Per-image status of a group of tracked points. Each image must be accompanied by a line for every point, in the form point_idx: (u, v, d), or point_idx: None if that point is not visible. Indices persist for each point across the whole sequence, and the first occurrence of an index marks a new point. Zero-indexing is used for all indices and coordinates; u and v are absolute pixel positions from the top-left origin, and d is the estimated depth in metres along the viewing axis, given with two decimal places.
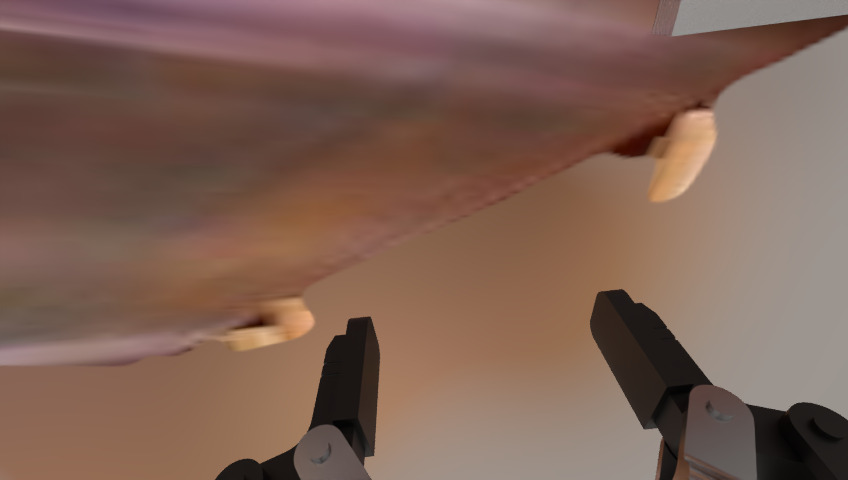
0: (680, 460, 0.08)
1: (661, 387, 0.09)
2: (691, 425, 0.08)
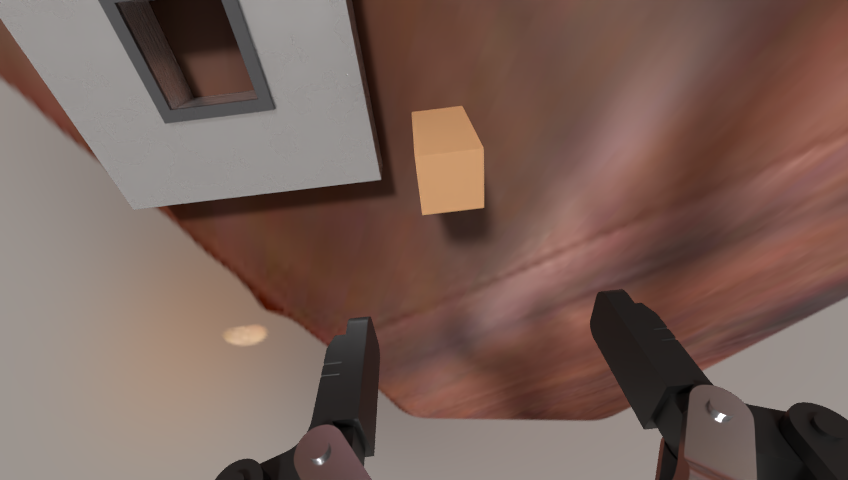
0: (680, 460, 0.08)
1: (661, 387, 0.09)
2: (691, 425, 0.08)
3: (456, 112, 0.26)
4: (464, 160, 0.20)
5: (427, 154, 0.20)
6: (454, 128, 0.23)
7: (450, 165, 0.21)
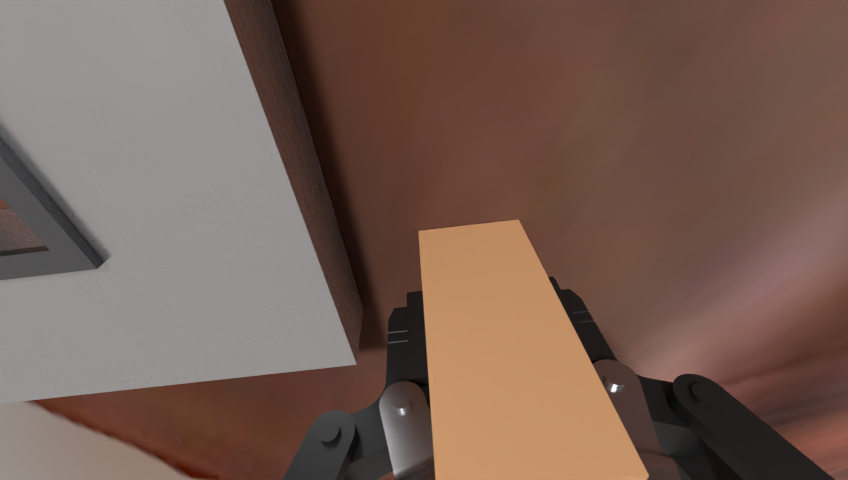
0: None
1: None
2: None
3: (511, 245, 0.13)
4: None
5: None
6: (522, 317, 0.10)
7: None
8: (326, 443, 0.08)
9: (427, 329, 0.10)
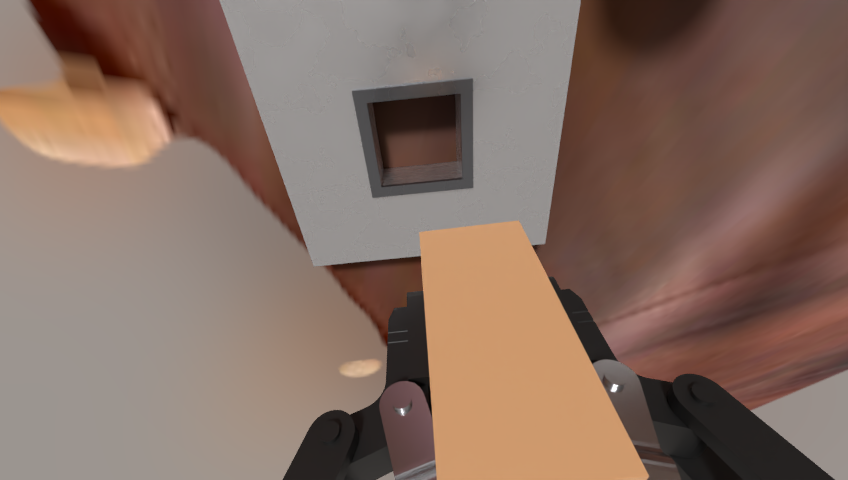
0: None
1: None
2: None
3: (512, 246, 0.13)
4: None
5: None
6: (523, 318, 0.10)
7: None
8: (326, 443, 0.08)
9: (428, 330, 0.10)
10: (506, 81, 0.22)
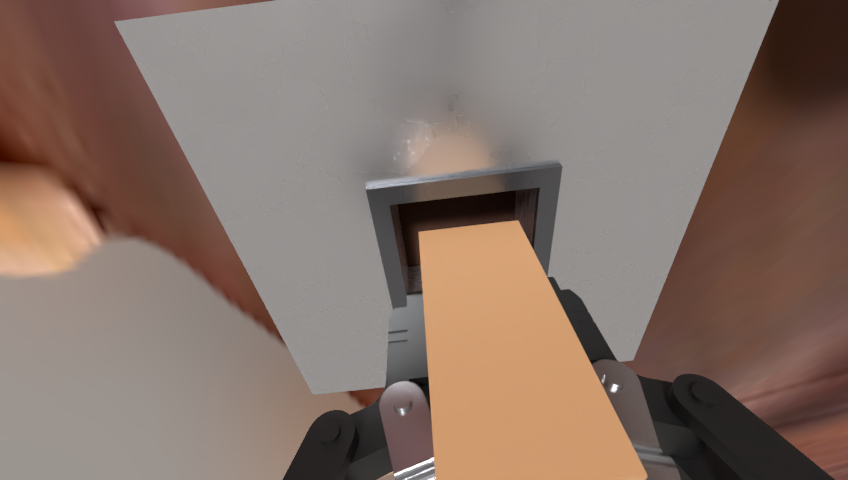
0: None
1: None
2: None
3: (512, 245, 0.13)
4: None
5: None
6: (522, 317, 0.10)
7: None
8: (326, 443, 0.08)
9: (427, 330, 0.10)
10: (613, 166, 0.14)
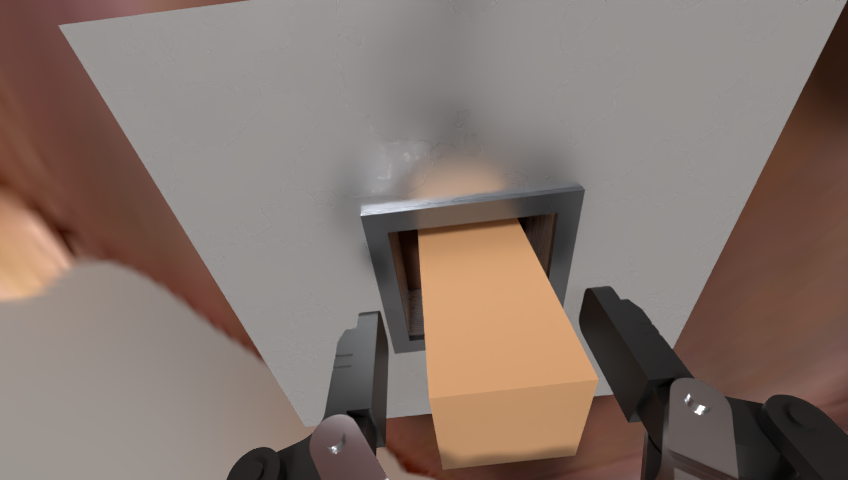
0: (664, 455, 0.08)
1: (643, 380, 0.09)
2: (670, 417, 0.08)
3: None
4: (548, 398, 0.09)
5: (460, 389, 0.08)
6: (505, 271, 0.11)
7: (512, 407, 0.09)
8: None
9: (423, 282, 0.12)
10: (642, 189, 0.12)
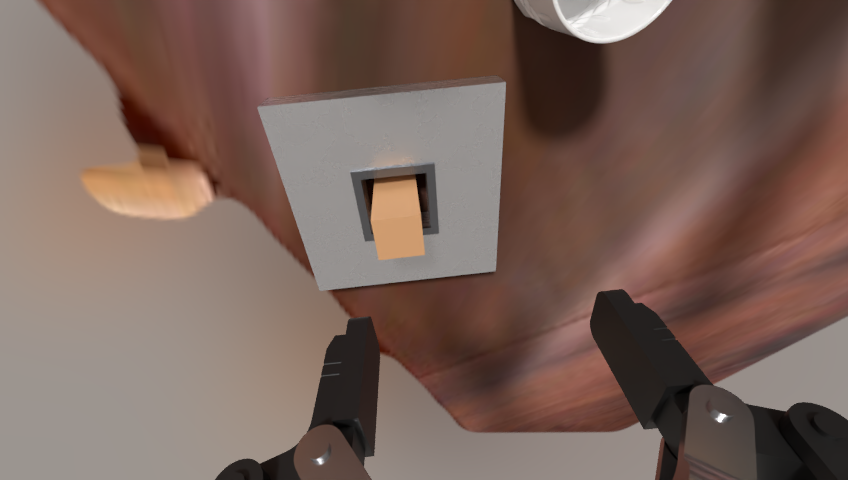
0: (680, 460, 0.08)
1: (661, 387, 0.09)
2: (691, 425, 0.08)
3: (408, 176, 0.34)
4: (407, 222, 0.28)
5: (380, 218, 0.28)
6: (404, 193, 0.31)
7: (397, 226, 0.28)
8: None
9: (373, 197, 0.31)
10: (458, 164, 0.32)
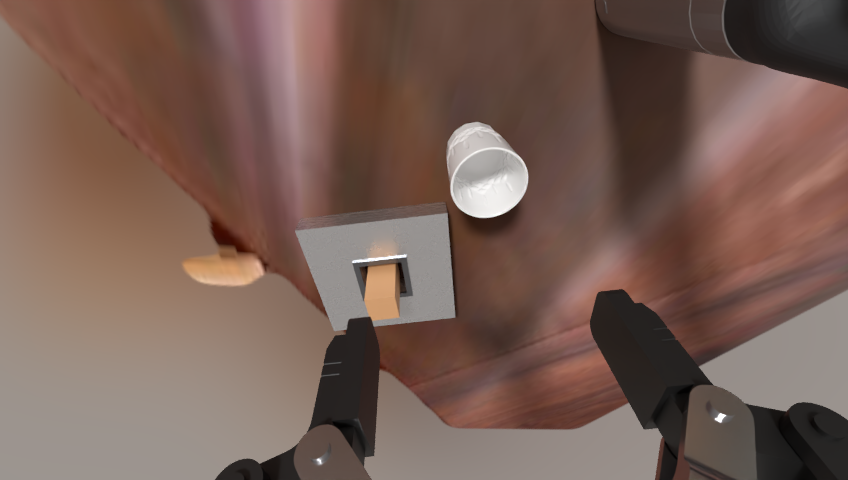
0: (680, 460, 0.08)
1: (661, 387, 0.09)
2: (691, 425, 0.08)
3: None
4: (386, 300, 0.45)
5: (370, 298, 0.45)
6: (386, 276, 0.48)
7: (380, 303, 0.46)
8: None
9: (367, 279, 0.48)
10: (422, 256, 0.49)
